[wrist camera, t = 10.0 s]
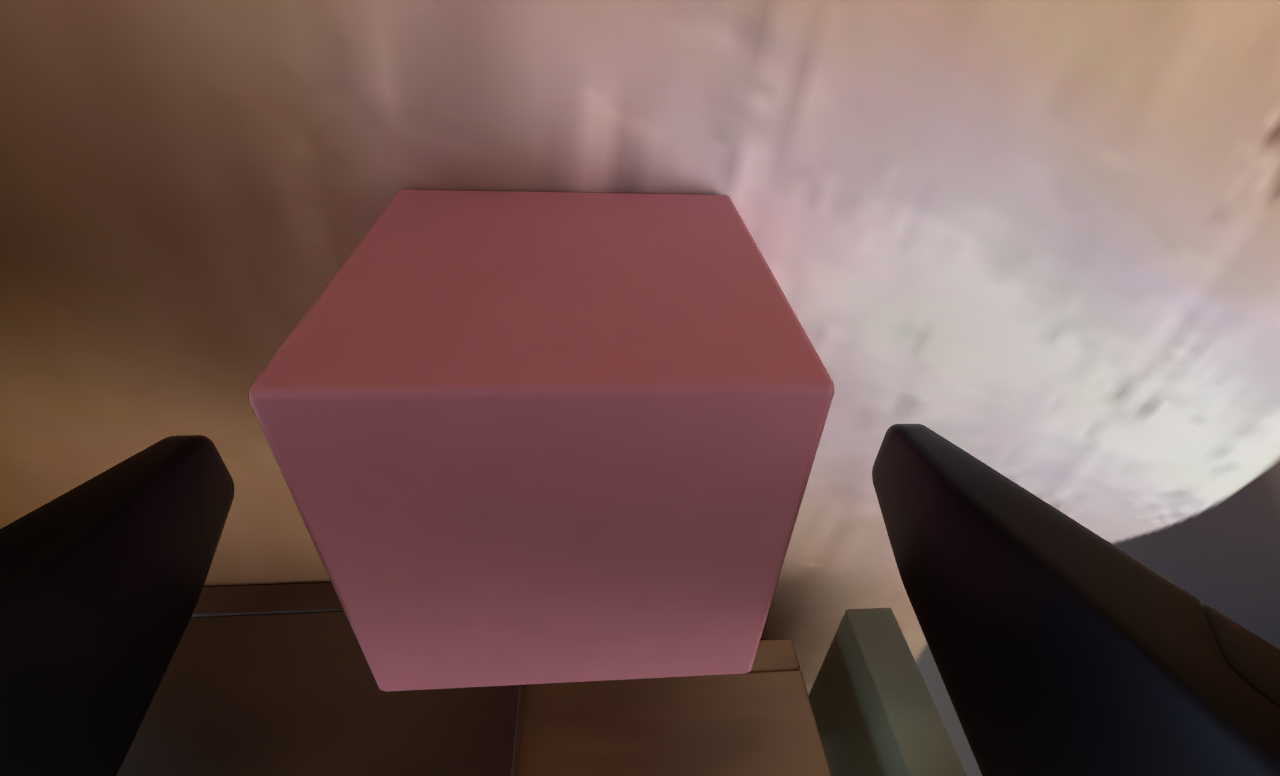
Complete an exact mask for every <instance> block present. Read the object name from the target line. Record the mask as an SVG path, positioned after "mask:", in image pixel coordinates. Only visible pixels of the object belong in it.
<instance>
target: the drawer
mask: <svg viewBox="0 0 1280 776" xmlns="http://www.w3.org/2000/svg"><path fill="white" fill-rule="evenodd" d="M799 669H800V666H799V663H798V659H797V656H796V652H795V649H794V646H793V642H792V640H791V639H779V640H760V642H759V645H758V648H757V652H756V655H755V658H754V662H753V665H752V668H751V671H750V672H748V673H745V674H726V675H706V676H686V677H666V678H646V679H626V680H606V681H586V682H566V683H546V684H526V685H525V696H524V708H523V720H522V732H521V744H520V756H519V768H518V776H967V774H966V772H965V770H964V768H963V765H962V763H961V761H960V759H959V757H958V754H957V752H956V750H955V748H954V746H953V743H952V741H951V739H950V737H949V735H948V732H947V730H946V728H945V726H944V724H943V721H942V719H941V717H940V715H939V713H938V710H937V708H936V706H935V704H934V702H933V700H932V697H931V695H930V693H929V691H928V689H927V686H926V684H925V682H924V680H923V678H922V675H921V673H920V671H919V669H918V667H917V664H916V662H915V660H914V658H913V656H912V653H911V651H910V649H909V647H908V645H907V642H906V640H905V638H904V636H903V634H902V631H901V629H900V627H899V625H898V623H897V620H896V618H895V616H894V614H893V612H892V610H891V608H873V609H849V610H846V611H845V613H844V616H843V618H842V620H841V622H840V625H839V627H838V629H837V632H836V634H835V636H834V639H833V641H832V643H831V645H830V648H829V650H828V652H827V655H826V657H825V659H824V662H823V664H822V666H821V668H820V671H819V673H818V675H817V678H816V680H815V682H814V685H813V687H812V689H811V691H810V694H809V696H808V693H807V690H806V687H805V683H804V680H803V676H802V673H801V672H800V671H799Z"/></svg>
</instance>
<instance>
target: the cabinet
mask: <svg viewBox="0 0 1280 776" xmlns="http://www.w3.org/2000/svg"><path fill="white" fill-rule="evenodd" d="M524 696H525V685H506V686H486V687H466V688H446V689H426V690H407V691H387V692H386V691H383V690H380V689H379V687H378V684H377V682H376V680H375V678H374V675H373V673H372V671H371V669H370V667H369V664H368V662H367V660H366V658H365V656H364V653H363V651H362V649H361V647H360V645H359V642H358V640H357V638H356V636H355V633H354V631H353V629H352V627H351V625H350V622H349V620H348V618H347V616H346V614H345V611H344V609H343V607H342V605H341V602H340V600H339V598H338V596H337V594H336V591H335V589H334V587H333V585H332V583H313V584H285V585H256V586H228V587H203V589H202V592H201V594H200V597H199V599H198V602H197V605H196V607H195V609H194V612H193V614H192V616H191V619H190V621H189V623H188V625H187V628H186V630H185V632H184V634H183V636H182V638H181V640H180V642H179V645H178V647H177V649H176V651H175V653H174V655H173V657H172V659H171V662H170V664H169V666H168V668H167V670H166V672H165V674H164V676H163V679H162V681H161V683H160V685H159V687H158V689H157V691H156V693H155V696H154V698H153V700H152V702H151V704H150V706H149V708H148V710H147V713H146V715H145V717H144V719H143V721H142V723H141V725H140V727H139V730H138V732H137V734H136V736H135V738H134V740H133V742H132V744H131V747H130V749H129V751H128V753H127V755H126V757H125V759H124V761H123V764H122V766H121V768H120V770H119V772H118V774H117V776H518V768H519V756H520V744H521V732H522V720H523V708H524Z"/></svg>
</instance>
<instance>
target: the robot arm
mask: <svg viewBox="0 0 1280 776" xmlns="http://www.w3.org/2000/svg"><path fill="white" fill-rule="evenodd" d="M872 478H873V484H874V487H875V491H876V494H877V498H878V501H879V505H880V508H881V512H882V515H883V519H884V522H885V525H886V529H887V532H888V536H889V539H890V543H891V546H892V550H893V553H894V557H895V560H896V563H897V567H898V570H899V573H900V576H901V579H902V582H903V584H904V587H905V589H906V592H907V595H908V597H909V599H910V602H911V604H912V607H913V609H914V612H915V614H916V616H917V619H918V621H919V624H920V626H921V629H922V631H923V633H924V636H925V638H926V641H927V643H928V645H929V648H930V650H931V653H932V655H933V658H934V660H935V662H936V665H937V667H938V670H939V672H940V674H941V677H942V679H943V682H944V684H945V686H946V689H947V691H948V694H949V696H950V699H951V701H952V703H953V706H954V708H955V711H956V713H957V715H958V718H959V720H960V723H961V725H962V727H963V730H964V732H965V735H966V737H967V740H968V742H969V745H970V747H971V749H972V752H973V754H974V757H975V759H976V761H977V764H978V766H979V769H980V771H981V774H982V776H1280V650H1279V649H1278V648H1276V647H1274V646H1273V645H1271V644H1270V643H1268V642H1266V641H1265V640H1263V639H1262V638H1260V637H1258V636H1257V635H1255V634H1253V633H1252V632H1250V631H1249V630H1247V629H1245V628H1244V627H1242V626H1241V625H1239V624H1237V623H1236V622H1234V621H1232V620H1231V619H1230V618H1228V617H1226V616H1225V615H1223V614H1222V613H1220V612H1219V611H1217V610H1215V609H1214V608H1212V607H1211V606H1209V605H1207V604H1201V603H1200V601H1199V600H1198V598H1196V597H1195V596H1193V595H1191V594H1190V593H1188V592H1187V591H1185V590H1183V589H1182V588H1180V587H1179V586H1177V585H1175V584H1174V583H1172V582H1171V581H1169V580H1168V579H1166V578H1165V577H1163V576H1161V575H1160V574H1158V573H1157V572H1155V571H1153V570H1152V569H1150V568H1149V567H1147V566H1146V565H1144V564H1142V563H1141V562H1139V561H1138V560H1136V559H1135V558H1133V557H1131V556H1130V555H1128V554H1127V553H1125V552H1123V551H1121V550H1120V549H1119V548H1117V547H1115V546H1114V545H1112V544H1111V543H1109V542H1108V541H1106V540H1104V539H1103V538H1101V537H1100V536H1098V535H1097V534H1095V533H1093V532H1092V531H1090V530H1089V529H1087V528H1085V527H1084V526H1082V525H1081V524H1079V523H1078V522H1076V521H1074V520H1073V519H1071V518H1070V517H1068V516H1066V515H1065V514H1063V513H1062V512H1060V511H1059V510H1057V509H1055V508H1054V507H1052V506H1051V505H1049V504H1048V503H1046V502H1044V501H1043V500H1041V499H1040V498H1038V497H1036V496H1035V495H1033V494H1032V493H1030V492H1029V491H1027V490H1025V489H1024V488H1022V487H1021V486H1019V485H1017V484H1016V483H1014V482H1013V481H1011V480H1010V479H1008V478H1006V477H1005V476H1003V475H1002V474H1000V473H998V472H997V471H995V470H994V469H992V468H991V467H989V466H987V465H986V464H984V463H983V462H981V461H979V460H978V459H976V458H975V457H973V456H972V455H970V454H968V453H967V452H965V451H964V450H962V449H961V448H959V447H957V446H956V445H954V444H953V443H951V442H949V441H948V440H946V439H945V438H943V437H942V436H940V435H938V434H937V433H935V432H934V431H932V430H930V429H929V428H927V427H926V426H924V425H921V424H895V425H892V426H891V427H890V428H889V429H888V430H887V432H886V434H885V437H884V439H883V442H882V444H881V447H880V450H879V452H878V455H877V457H876V460H875V463H874V466H873V471H872ZM233 498H234V483H233V480H232V477H231V475H230V473H229V472H228V470H227V468H226V466H225V464H224V462H223V460H222V458H221V456H220V454H219V453H218V451H217V449H216V447H215V445H214V443H213V442H212V441H211V440H210V439H209V438H207V437H205V436H201V435H190V436H170V437H167V438H165V439H163V440H161V441H159V442H157V443H155V444H154V445H152V446H150V447H148V448H146V449H145V450H143V451H141V452H139V453H137V454H135V455H134V456H132V457H130V458H128V459H126V460H125V461H123V462H121V463H119V464H117V465H116V466H114V467H112V468H110V469H108V470H107V471H105V472H103V473H101V474H99V475H98V476H96V477H94V478H92V479H90V480H89V481H87V482H85V483H83V484H81V485H79V486H78V487H76V488H74V489H72V490H70V491H69V492H67V493H65V494H63V495H61V496H60V497H58V498H56V499H54V500H52V501H51V502H49V503H47V504H45V505H43V506H42V507H40V508H38V509H36V510H34V511H32V512H31V513H29V514H27V515H25V516H23V517H22V518H20V519H18V520H16V521H14V522H13V523H11V524H9V525H7V526H5V527H4V528H2V529H0V776H117V774H118V772H119V770H120V768H121V766H122V764H123V761H124V759H125V757H126V755H127V753H128V751H129V749H130V747H131V744H132V742H133V740H134V738H135V736H136V734H137V732H138V730H139V727H140V725H141V723H142V721H143V719H144V717H145V715H146V713H147V710H148V708H149V706H150V704H151V702H152V700H153V698H154V696H155V693H156V691H157V689H158V687H159V685H160V683H161V681H162V679H163V676H164V674H165V672H166V670H167V668H168V666H169V664H170V662H171V659H172V657H173V655H174V653H175V651H176V649H177V647H178V645H179V642H180V640H181V638H182V636H183V634H184V632H185V630H186V628H187V625H188V623H189V621H190V619H191V616H192V614H193V612H194V609H195V607H196V605H197V602H198V599H199V597H200V594H201V592H202V589H203V586H204V583H205V580H206V577H207V574H208V571H209V569H210V566H211V563H212V560H213V557H214V554H215V551H216V548H217V545H218V542H219V539H220V536H221V534H222V531H223V528H224V525H225V522H226V519H227V516H228V513H229V510H230V507H231V504H232V501H233Z"/></svg>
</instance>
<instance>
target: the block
mask: <svg viewBox="0 0 1280 776" xmlns="http://www.w3.org/2000/svg"><path fill="white" fill-rule="evenodd" d="M833 394H834V385H833V381H832V380H831V378H830V376H829V374H828V372H827V371H826V369H825V367H824V365H823V364H822V362H821V360H820V358H819V356H818V355H817V353H816V351H815V349H814V347H813V346H812V344H811V342H810V340H809V338H808V337H807V335H806V333H805V331H804V329H803V328H802V326H801V324H800V322H799V320H798V319H797V317H796V315H795V313H794V312H793V310H792V308H791V306H790V304H789V303H788V301H787V299H786V297H785V295H784V294H783V292H782V290H781V288H780V286H779V285H778V283H777V281H776V279H775V277H774V276H773V274H772V272H771V270H770V269H769V267H768V265H767V263H766V261H765V260H764V258H763V256H762V254H761V252H760V251H759V249H758V247H757V245H756V243H755V242H754V240H753V238H752V236H751V234H750V233H749V231H748V229H747V227H746V225H745V224H744V222H743V220H742V218H741V217H740V215H739V213H738V211H737V209H736V208H735V206H734V204H733V202H732V200H731V199H730V197H729V196H726V195H692V194H632V193H573V192H513V191H453V190H401V191H399V192H398V193H397V194H396V195H395V197H394V198H393V199H392V201H391V202H390V203H389V205H388V206H387V207H386V209H385V210H384V211H383V213H382V214H381V215H380V217H379V218H378V219H377V221H376V222H375V223H374V224H373V226H372V227H371V228H370V230H369V231H368V232H367V234H366V235H365V236H364V238H363V239H362V240H361V242H360V243H359V244H358V246H357V247H356V248H355V250H354V251H353V252H352V254H351V255H350V256H349V257H348V259H347V260H346V261H345V263H344V264H343V265H342V267H341V268H340V269H339V271H338V272H337V273H336V275H335V276H334V277H333V279H332V280H331V281H330V283H329V284H328V285H327V287H326V288H325V289H324V290H323V292H322V293H321V294H320V296H319V297H318V298H317V300H316V301H315V302H314V304H313V305H312V306H311V308H310V309H309V310H308V312H307V313H306V314H305V316H304V317H303V318H302V320H301V321H300V322H299V324H298V325H297V326H296V327H295V329H294V330H293V331H292V333H291V334H290V335H289V337H288V338H287V339H286V341H285V342H284V343H283V345H282V346H281V347H280V349H279V350H278V351H277V353H276V354H275V355H274V357H273V358H272V359H271V360H270V362H269V363H268V364H267V366H266V367H265V368H264V370H263V371H262V372H261V374H260V375H259V376H258V378H257V379H256V380H255V382H254V383H253V384H252V386H251V387H250V389H249V401H250V403H251V406H252V408H253V410H254V412H255V414H256V417H257V419H258V421H259V423H260V425H261V428H262V430H263V432H264V434H265V437H266V439H267V441H268V443H269V445H270V448H271V450H272V452H273V454H274V456H275V459H276V461H277V463H278V465H279V468H280V470H281V472H282V474H283V476H284V479H285V481H286V483H287V485H288V487H289V490H290V492H291V494H292V496H293V498H294V501H295V503H296V505H297V507H298V510H299V512H300V514H301V516H302V518H303V521H304V523H305V525H306V527H307V529H308V532H309V534H310V536H311V538H312V541H313V543H314V545H315V547H316V549H317V552H318V554H319V556H320V558H321V560H322V563H323V565H324V567H325V569H326V572H327V574H328V576H329V578H330V580H331V583H332V585H333V587H334V589H335V591H336V594H337V596H338V598H339V600H340V602H341V605H342V607H343V609H344V611H345V614H346V616H347V618H348V620H349V622H350V625H351V627H352V629H353V631H354V633H355V636H356V638H357V640H358V642H359V645H360V647H361V649H362V651H363V653H364V656H365V658H366V660H367V662H368V664H369V667H370V669H371V671H372V673H373V675H374V678H375V680H376V682H377V684H378V687H379V689H380V690H383V691H386V692H387V691H407V690H426V689H446V688H466V687H486V686H506V685H526V684H546V683H566V682H586V681H606V680H626V679H646V678H666V677H686V676H706V675H726V674H745V673H748V672H750V671H751V668H752V665H753V662H754V658H755V655H756V652H757V648H758V645H759V642H760V638H761V635H762V632H763V628H764V625H765V622H766V618H767V615H768V612H769V608H770V605H771V602H772V598H773V595H774V592H775V588H776V585H777V581H778V578H779V575H780V571H781V568H782V565H783V561H784V558H785V555H786V551H787V548H788V545H789V541H790V538H791V535H792V531H793V528H794V525H795V521H796V518H797V515H798V511H799V508H800V505H801V501H802V498H803V495H804V491H805V488H806V484H807V481H808V478H809V474H810V471H811V468H812V464H813V461H814V458H815V454H816V451H817V448H818V444H819V441H820V438H821V434H822V431H823V428H824V424H825V421H826V418H827V414H828V411H829V408H830V404H831V401H832V397H833Z"/></svg>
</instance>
